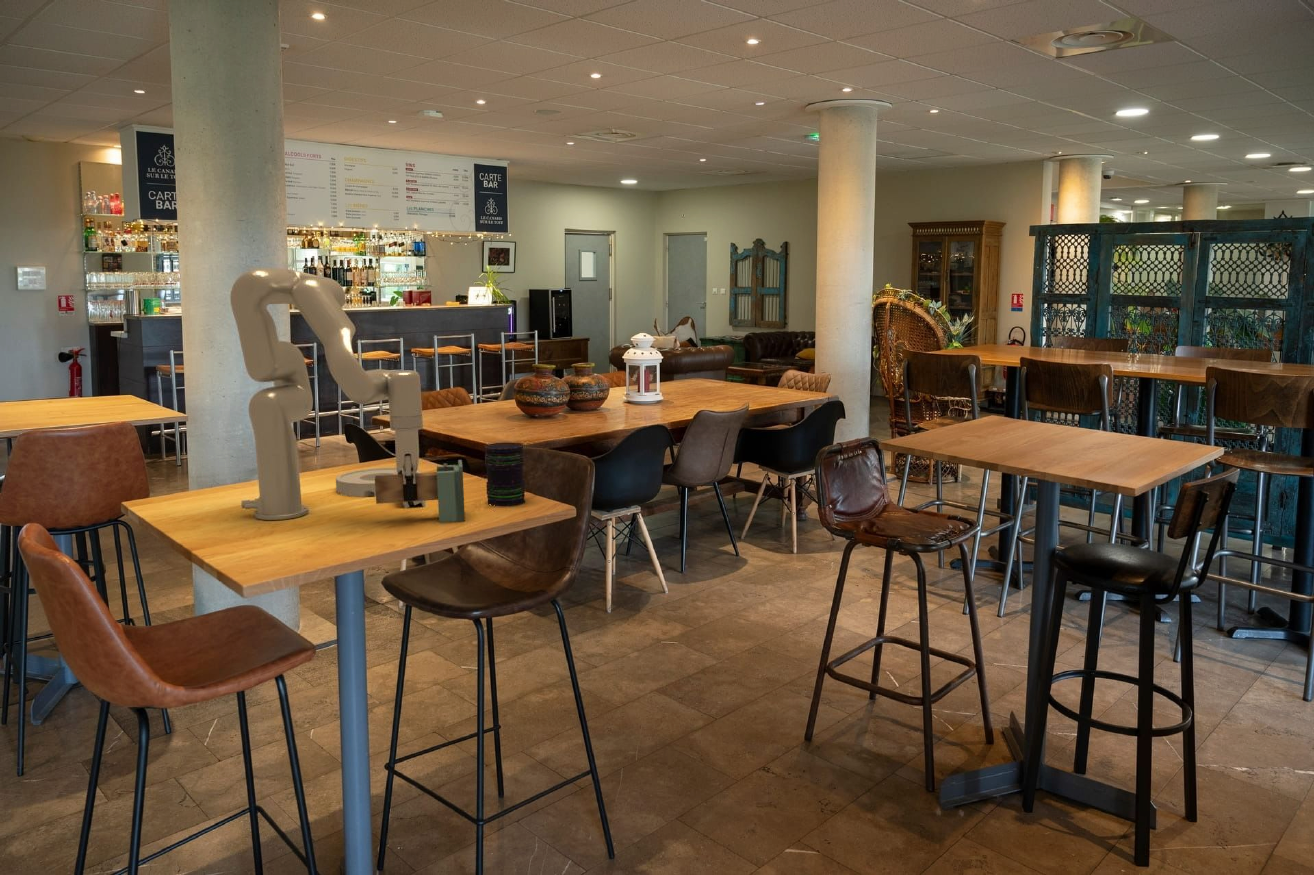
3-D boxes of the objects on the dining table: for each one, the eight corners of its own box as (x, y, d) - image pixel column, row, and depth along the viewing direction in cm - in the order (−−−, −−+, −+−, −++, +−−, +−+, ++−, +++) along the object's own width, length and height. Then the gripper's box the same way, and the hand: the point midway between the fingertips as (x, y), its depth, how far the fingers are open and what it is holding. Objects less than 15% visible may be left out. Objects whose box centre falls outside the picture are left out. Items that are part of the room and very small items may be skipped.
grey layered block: (425, 507, 247) (409, 471, 245) (407, 514, 247) (391, 478, 244) (426, 493, 263) (411, 460, 261) (409, 500, 263) (394, 466, 261)
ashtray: (320, 490, 271) (319, 476, 270) (393, 477, 288) (392, 464, 287) (365, 502, 255) (364, 487, 255) (439, 488, 272) (438, 473, 272)
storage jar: (499, 508, 245) (496, 450, 242) (479, 502, 252) (477, 445, 250) (532, 502, 251) (531, 445, 249) (512, 496, 258) (510, 441, 256)
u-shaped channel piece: (439, 522, 231) (436, 468, 229) (439, 513, 240) (436, 461, 238) (464, 521, 232) (462, 466, 230) (463, 512, 241) (461, 459, 239)
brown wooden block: (376, 503, 230) (374, 470, 228) (377, 500, 233) (375, 467, 232) (449, 499, 233) (447, 466, 232) (448, 495, 237) (447, 463, 236)
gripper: (391, 419, 238) (396, 492, 240) (388, 428, 221) (393, 507, 224) (423, 417, 239) (427, 490, 242) (422, 426, 223) (426, 504, 226)
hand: (411, 497), depth 233 cm, fingers closed on brown wooden block, 4 cm apart
